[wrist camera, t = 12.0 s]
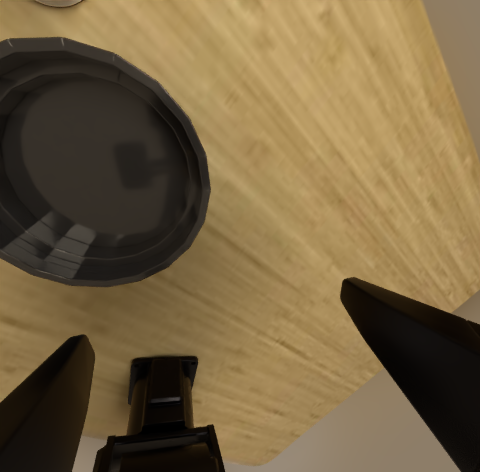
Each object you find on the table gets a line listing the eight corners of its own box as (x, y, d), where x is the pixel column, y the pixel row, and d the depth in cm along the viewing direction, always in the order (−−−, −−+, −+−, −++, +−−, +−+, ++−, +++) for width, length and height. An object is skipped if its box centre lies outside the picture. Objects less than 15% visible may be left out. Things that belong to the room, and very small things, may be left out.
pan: (188, 262, 21) (191, 291, 18) (0, 247, 17) (-43, 281, 14) (218, 94, 16) (230, 88, 13) (-35, 18, 12) (-116, -19, 9)
